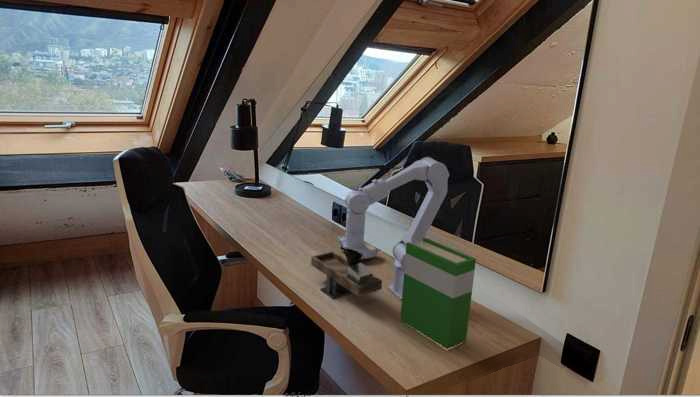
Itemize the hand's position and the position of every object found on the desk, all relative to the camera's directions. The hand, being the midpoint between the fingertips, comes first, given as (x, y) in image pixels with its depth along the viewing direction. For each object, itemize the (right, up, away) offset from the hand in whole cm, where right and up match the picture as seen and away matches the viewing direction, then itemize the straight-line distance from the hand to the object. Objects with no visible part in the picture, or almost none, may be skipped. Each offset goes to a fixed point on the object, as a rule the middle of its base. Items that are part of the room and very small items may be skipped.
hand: (352, 271), depth 145 cm
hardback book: (+22, -14, -17) cm, 31 cm away
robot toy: (+2, 0, +34) cm, 34 cm away
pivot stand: (-3, -7, +6) cm, 9 cm away
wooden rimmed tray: (-3, -2, +4) cm, 6 cm away
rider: (+1, -2, -2) cm, 3 cm away
